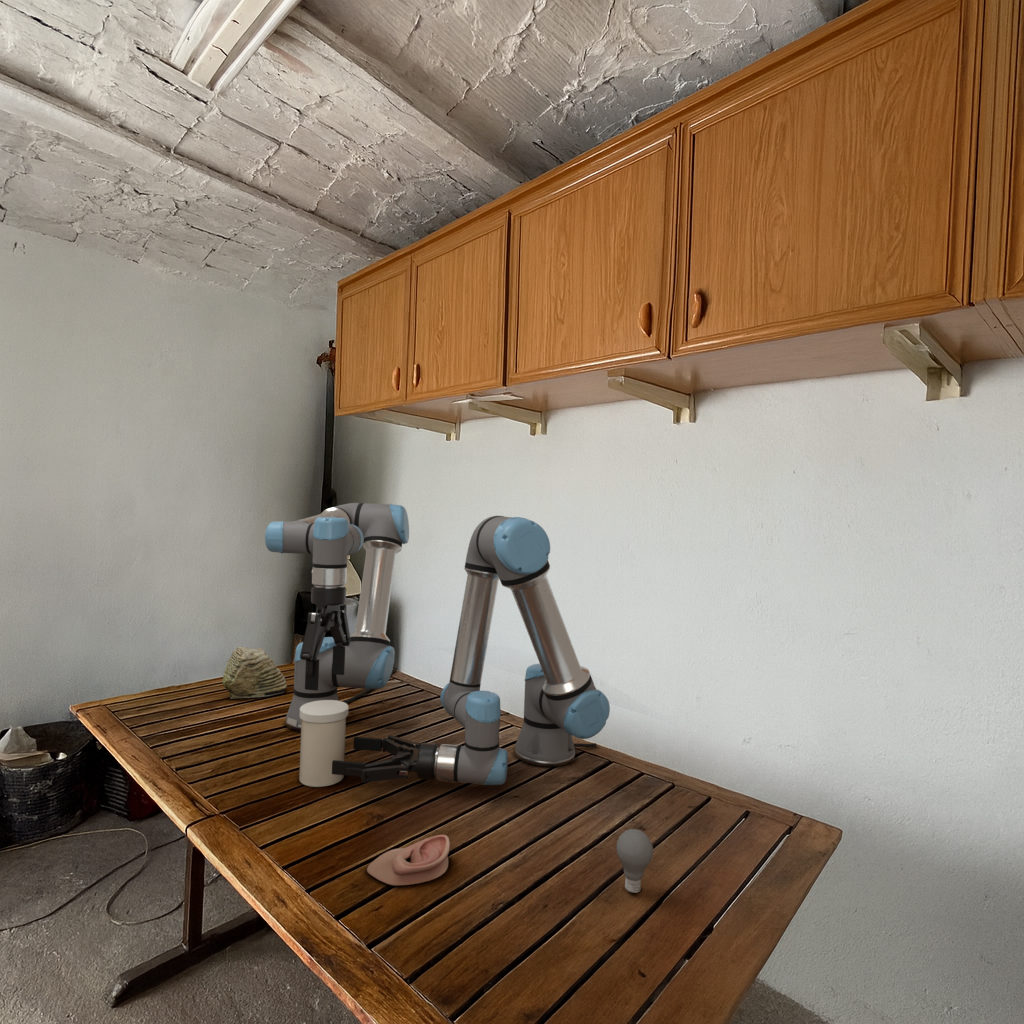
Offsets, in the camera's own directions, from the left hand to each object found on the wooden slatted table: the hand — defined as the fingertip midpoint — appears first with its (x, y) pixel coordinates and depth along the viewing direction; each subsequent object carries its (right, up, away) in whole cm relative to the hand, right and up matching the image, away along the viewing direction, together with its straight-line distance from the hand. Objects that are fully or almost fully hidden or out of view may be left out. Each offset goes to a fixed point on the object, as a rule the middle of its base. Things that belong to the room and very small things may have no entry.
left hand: (325, 681), depth 143 cm
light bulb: (+62, -25, -37) cm, 77 cm away
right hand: (+4, -16, -1) cm, 17 cm away
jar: (-1, -22, 0) cm, 22 cm away
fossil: (-39, -19, +55) cm, 70 cm away
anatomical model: (+24, -23, -33) cm, 47 cm away
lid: (0, -6, 0) cm, 6 cm away
